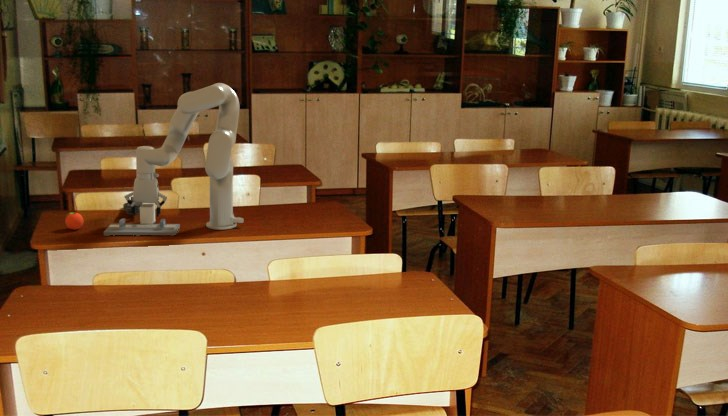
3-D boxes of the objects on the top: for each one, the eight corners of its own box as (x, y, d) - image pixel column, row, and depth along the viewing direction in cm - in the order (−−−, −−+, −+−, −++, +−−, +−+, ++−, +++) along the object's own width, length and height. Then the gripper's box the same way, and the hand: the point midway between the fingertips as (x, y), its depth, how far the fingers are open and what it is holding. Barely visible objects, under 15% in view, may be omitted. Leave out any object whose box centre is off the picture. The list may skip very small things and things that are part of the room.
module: (155, 221, 322) (154, 203, 320) (152, 226, 315) (151, 207, 313) (143, 221, 321) (142, 203, 319) (140, 226, 315) (139, 207, 313)
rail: (175, 226, 310) (175, 219, 309) (174, 229, 305) (174, 221, 305) (111, 226, 307) (110, 218, 306) (108, 229, 303) (108, 221, 302)
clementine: (59, 230, 304) (58, 213, 303) (71, 226, 311) (70, 209, 309) (76, 232, 302) (75, 215, 301) (87, 228, 309) (86, 211, 307)
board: (179, 227, 314) (179, 224, 314) (175, 235, 302) (175, 232, 301) (111, 227, 311) (110, 223, 311) (103, 235, 299) (103, 231, 298)
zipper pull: (125, 205, 321) (122, 193, 343) (126, 220, 322) (123, 207, 345) (147, 204, 324) (142, 192, 346) (147, 219, 325) (143, 206, 348)
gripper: (168, 175, 318) (168, 214, 322) (126, 173, 316) (127, 212, 320) (165, 178, 311) (165, 218, 315) (122, 177, 309) (123, 217, 313)
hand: (146, 215), depth 317 cm, fingers open, 9 cm apart
